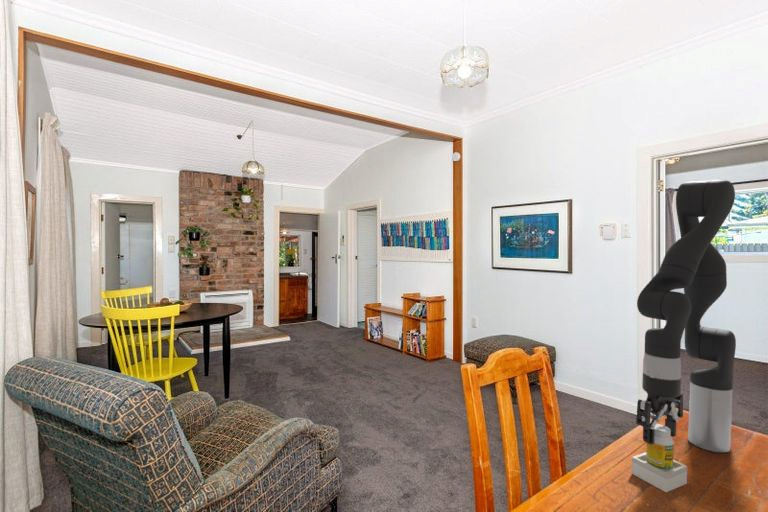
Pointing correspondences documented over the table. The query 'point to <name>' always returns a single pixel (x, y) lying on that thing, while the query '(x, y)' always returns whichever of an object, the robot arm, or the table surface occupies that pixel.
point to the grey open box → (659, 473)
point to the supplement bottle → (661, 449)
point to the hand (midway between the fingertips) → (659, 438)
